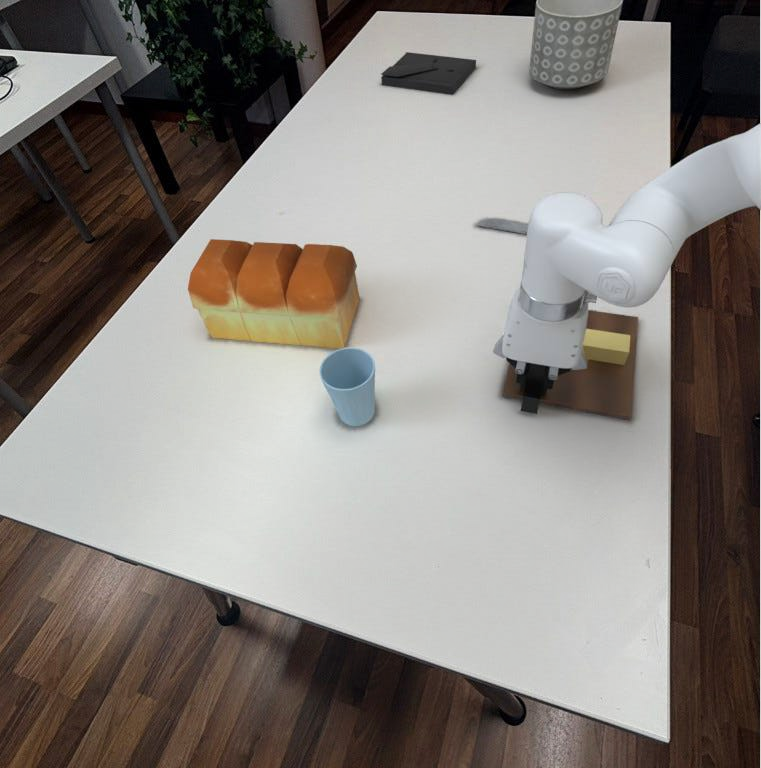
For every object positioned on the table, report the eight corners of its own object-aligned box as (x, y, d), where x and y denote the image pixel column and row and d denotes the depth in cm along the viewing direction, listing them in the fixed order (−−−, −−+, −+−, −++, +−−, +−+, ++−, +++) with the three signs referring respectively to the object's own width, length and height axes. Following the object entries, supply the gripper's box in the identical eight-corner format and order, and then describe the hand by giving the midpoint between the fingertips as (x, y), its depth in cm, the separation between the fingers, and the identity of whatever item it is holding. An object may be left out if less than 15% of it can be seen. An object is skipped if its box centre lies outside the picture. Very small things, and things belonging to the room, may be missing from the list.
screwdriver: (537, 414, 79) (540, 399, 77) (520, 411, 80) (522, 396, 77) (555, 320, 90) (558, 304, 87) (539, 318, 91) (542, 302, 88)
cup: (367, 383, 88) (358, 339, 79) (391, 417, 83) (385, 373, 75) (324, 405, 86) (310, 362, 78) (346, 441, 81) (335, 399, 73)
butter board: (636, 321, 90) (638, 316, 89) (629, 420, 79) (631, 416, 78) (523, 304, 95) (524, 300, 94) (502, 396, 84) (502, 392, 83)
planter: (605, 100, 134) (624, 15, 120) (524, 99, 138) (533, 17, 124) (605, 65, 145) (622, -17, 131) (530, 65, 149) (539, -14, 135)
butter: (625, 348, 86) (630, 335, 83) (624, 365, 84) (629, 352, 81) (571, 339, 88) (575, 326, 85) (569, 356, 86) (572, 343, 83)
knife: (483, 211, 112) (476, 226, 109) (484, 210, 111) (476, 224, 109) (615, 232, 104) (611, 249, 101) (615, 231, 103) (611, 247, 101)
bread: (362, 298, 100) (350, 230, 88) (346, 350, 92) (331, 283, 81) (233, 289, 105) (206, 223, 93) (208, 338, 97) (175, 273, 86)
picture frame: (382, 84, 151) (453, 94, 143) (380, 73, 148) (453, 83, 141) (407, 60, 159) (475, 68, 151) (406, 49, 156) (476, 56, 149)
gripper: (623, 282, 67) (593, 377, 82) (491, 265, 72) (484, 358, 86) (619, 326, 63) (588, 418, 78) (478, 305, 67) (474, 396, 82)
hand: (533, 386), depth 82 cm, fingers closed on screwdriver, 2 cm apart
